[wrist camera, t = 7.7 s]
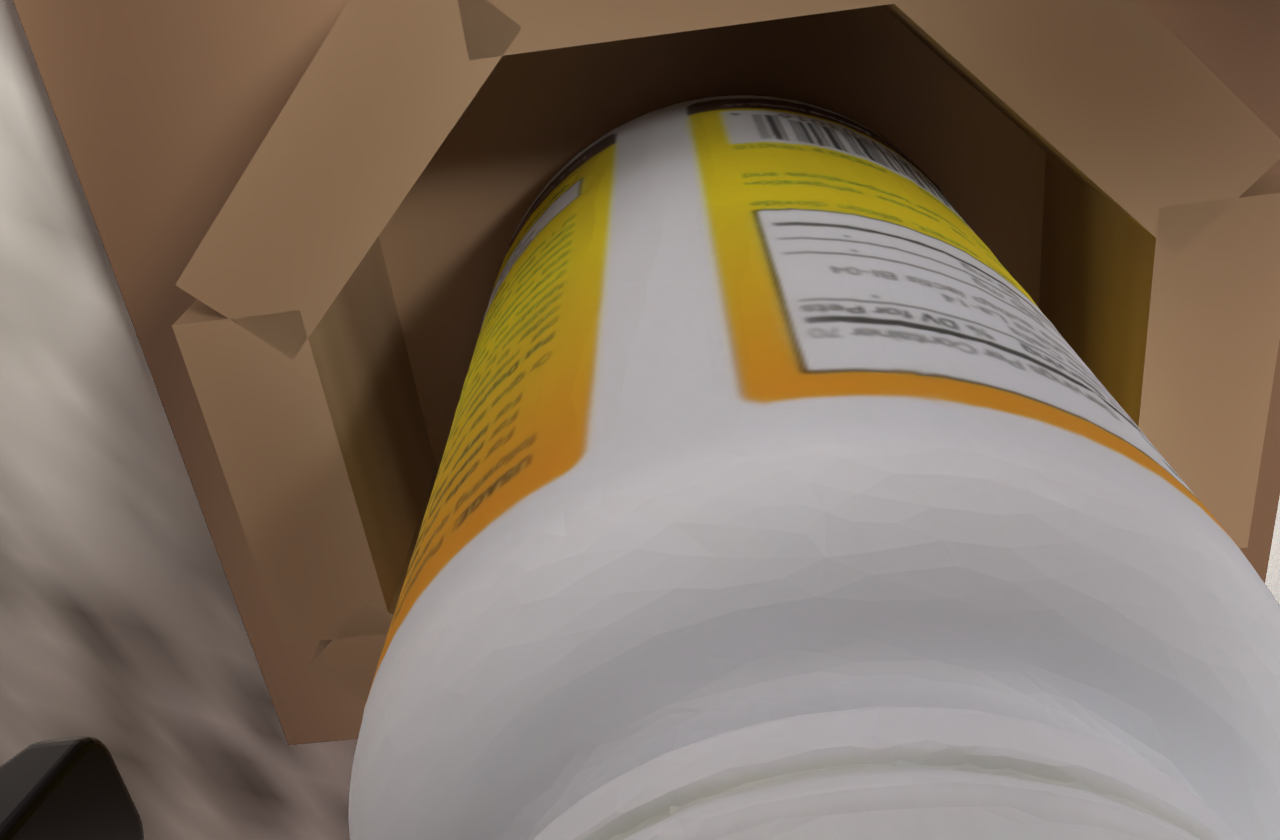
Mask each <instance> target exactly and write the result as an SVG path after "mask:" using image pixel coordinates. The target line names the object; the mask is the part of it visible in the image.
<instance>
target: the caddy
mask: <svg viewBox="0 0 1280 840" xmlns="http://www.w3.org/2000/svg"><path fill="white" fill-rule="evenodd" d="M13 1H14V4H15V7H16V10H17V12H18V15H19V18H20V20H21V23H22V26H23V29H24V31H25V34H26V37H27V39H28V42H29V45H30V47H31V50H32V53H33V56H34V58H35V61H36V64H37V66H38V69H39V72H40V74H41V77H42V80H43V83H44V85H45V88H46V91H47V93H48V96H49V99H50V102H51V104H52V107H53V110H54V112H55V115H56V118H57V120H58V123H59V126H60V129H61V131H62V134H63V137H64V139H65V142H66V145H67V147H68V150H69V153H70V156H71V158H72V161H73V164H74V166H75V169H76V172H77V175H78V177H79V180H80V183H81V185H82V188H83V191H84V193H85V196H86V199H87V202H88V204H89V207H90V210H91V212H92V215H93V218H94V220H95V223H96V226H97V229H98V231H99V234H100V237H101V239H102V242H103V245H104V248H105V250H106V253H107V256H108V258H109V261H110V264H111V266H112V269H113V272H114V275H115V277H116V280H117V283H118V285H119V288H120V291H121V294H122V296H123V299H124V302H125V304H126V307H127V310H128V312H129V315H130V318H131V321H132V323H133V326H134V329H135V331H136V334H137V337H138V339H139V342H140V345H141V348H142V350H143V353H144V356H145V358H146V361H147V364H148V367H149V369H150V372H151V375H152V377H153V380H154V383H155V385H156V388H157V391H158V394H159V396H160V399H161V402H162V404H163V407H164V410H165V412H166V415H167V418H168V421H169V423H170V426H171V429H172V431H173V434H174V437H175V440H176V442H177V445H178V448H179V450H180V453H181V456H182V458H183V461H184V464H185V467H186V469H187V472H188V475H189V477H190V480H191V483H192V485H193V488H194V491H195V494H196V496H197V499H198V502H199V504H200V507H201V510H202V513H203V515H204V518H205V521H206V523H207V526H208V529H209V531H210V534H211V537H212V540H213V542H214V545H215V548H216V550H217V553H218V556H219V558H220V561H221V564H222V567H223V569H224V572H225V575H226V577H227V580H228V583H229V586H230V588H231V591H232V594H233V596H234V599H235V602H236V604H237V607H238V610H239V613H240V615H241V618H242V621H243V623H244V626H245V629H246V631H247V634H248V637H249V640H250V642H251V645H252V648H253V650H254V653H255V656H256V659H257V661H258V664H259V667H260V669H261V672H262V675H263V677H264V680H265V683H266V686H267V688H268V691H269V694H270V696H271V699H272V702H273V705H274V707H275V710H276V713H277V715H278V718H279V721H280V723H281V726H282V729H283V732H284V734H285V737H286V740H287V742H288V745H296V744H307V743H317V742H328V741H339V740H349V739H358V737H359V732H360V728H361V724H362V720H363V713H364V708H365V705H366V702H367V699H368V696H369V692H370V689H371V685H372V682H373V679H374V675H375V672H376V669H377V665H378V662H379V659H380V656H381V652H382V649H383V646H384V643H385V640H386V637H387V634H388V631H389V628H390V624H391V621H392V618H393V615H394V612H395V609H396V606H397V603H398V600H399V596H400V593H401V590H402V587H403V584H404V581H405V577H406V574H407V571H408V567H409V564H410V561H411V557H412V554H413V551H414V548H415V545H416V542H417V539H418V536H419V532H420V529H421V525H422V522H423V518H424V515H425V512H426V509H427V506H428V503H429V500H430V497H431V493H432V490H433V487H434V483H435V480H436V477H437V473H438V470H439V467H440V463H441V460H442V457H443V454H444V450H445V447H446V444H447V440H448V437H449V434H450V431H451V427H452V423H453V419H454V416H455V412H456V409H457V406H458V403H459V400H460V396H461V392H462V389H463V385H464V382H465V378H466V376H467V373H468V370H469V367H470V363H471V360H472V357H473V354H474V351H475V347H476V343H477V340H478V337H479V334H480V330H481V326H482V323H483V319H484V315H485V313H486V310H487V308H488V304H489V301H490V297H491V294H492V291H493V287H494V284H495V281H496V279H497V275H498V272H499V269H500V266H501V263H502V260H503V257H504V254H505V252H506V250H507V247H508V245H509V243H510V241H511V239H512V237H513V235H514V232H515V231H516V229H517V227H518V226H519V224H520V222H521V221H522V219H523V217H524V216H525V214H526V212H527V211H528V209H529V208H530V206H531V205H532V204H533V202H534V201H535V199H536V198H537V196H538V195H539V194H540V192H541V191H542V190H543V189H544V187H545V186H546V185H547V184H548V182H549V181H550V180H551V179H552V178H553V177H554V176H555V175H556V174H557V173H558V172H559V171H560V170H561V169H562V168H563V167H564V166H565V165H566V164H567V163H568V162H569V161H571V160H572V159H573V158H574V157H575V156H576V155H577V154H578V153H580V152H581V151H582V150H584V149H585V148H586V147H588V146H589V145H591V144H592V143H593V142H595V141H596V140H597V139H599V138H600V137H602V136H604V135H605V134H607V133H608V132H610V131H612V130H613V129H615V128H617V127H619V126H621V125H623V124H625V123H627V122H629V121H631V120H633V119H636V118H638V117H640V116H642V115H645V114H647V113H649V112H652V111H654V110H658V109H661V108H664V107H667V106H670V105H674V104H677V103H681V102H685V101H691V100H696V99H702V98H708V97H719V96H732V95H754V96H769V97H777V98H783V99H790V100H796V101H800V102H804V103H808V104H812V105H815V106H818V107H821V108H824V109H827V110H830V111H833V112H835V113H838V114H840V115H843V116H845V117H847V118H849V119H851V120H853V121H855V122H857V123H859V124H861V125H863V126H865V127H867V128H869V129H870V130H872V131H873V132H875V133H876V134H878V135H879V136H881V137H882V138H884V139H885V140H887V141H888V142H889V143H891V144H892V145H893V146H895V147H896V148H897V149H898V150H899V151H901V152H902V153H903V154H904V155H906V156H907V157H908V158H909V159H910V160H911V161H912V162H913V163H914V164H915V165H916V166H917V167H919V168H920V169H921V170H922V171H923V172H924V173H925V174H926V175H927V176H928V177H929V178H930V179H931V180H932V181H933V182H934V183H935V184H937V185H938V186H939V188H940V190H941V191H942V193H943V195H944V196H945V198H946V199H947V200H948V201H949V202H950V204H951V205H952V206H953V207H954V209H955V210H956V211H957V212H958V213H959V215H960V216H961V217H962V218H963V220H964V221H965V222H966V223H967V224H968V226H969V227H970V228H971V229H972V230H973V231H974V233H975V234H976V235H977V236H978V237H979V238H980V239H981V240H982V241H983V243H984V244H985V245H986V246H987V247H988V248H989V249H990V250H991V252H992V253H993V254H994V255H995V257H996V258H997V259H998V261H999V262H1000V263H1001V264H1002V265H1003V267H1004V268H1005V269H1006V270H1007V271H1008V272H1009V274H1010V275H1011V276H1012V277H1013V278H1014V279H1015V280H1016V281H1017V282H1018V283H1019V284H1020V286H1021V287H1022V288H1023V289H1024V290H1025V291H1026V292H1027V293H1028V295H1029V296H1030V297H1031V298H1032V300H1033V301H1034V302H1035V304H1036V305H1037V306H1038V308H1039V309H1040V310H1041V311H1042V313H1043V314H1044V315H1045V316H1046V317H1047V318H1048V319H1049V320H1050V322H1051V323H1052V324H1053V325H1054V326H1055V328H1056V329H1057V331H1058V332H1059V333H1060V334H1061V336H1062V337H1063V338H1064V339H1065V340H1066V342H1067V343H1068V344H1069V345H1070V346H1071V348H1072V349H1073V350H1074V351H1075V352H1076V354H1077V355H1078V356H1079V357H1080V358H1081V360H1082V361H1083V362H1084V363H1085V364H1086V366H1087V367H1088V368H1089V369H1090V370H1091V372H1092V373H1093V374H1094V375H1095V376H1096V378H1097V379H1098V380H1099V381H1100V382H1101V384H1102V385H1103V386H1104V387H1105V388H1106V389H1107V391H1108V392H1109V393H1110V394H1111V395H1112V397H1113V398H1114V399H1115V400H1116V401H1117V402H1118V404H1119V405H1120V406H1121V407H1122V408H1123V410H1124V411H1125V412H1126V413H1127V414H1128V415H1129V417H1130V418H1131V419H1132V420H1133V421H1134V422H1135V424H1136V425H1137V426H1138V427H1139V428H1140V430H1141V431H1142V432H1143V433H1144V434H1145V435H1146V437H1147V438H1148V439H1149V440H1150V442H1151V443H1152V444H1153V446H1154V447H1155V448H1156V449H1157V451H1158V452H1159V453H1160V454H1161V455H1162V456H1163V457H1164V459H1165V460H1166V461H1167V462H1168V463H1169V464H1170V466H1171V467H1172V468H1173V469H1174V470H1175V472H1176V473H1177V474H1178V475H1179V476H1180V478H1181V479H1182V480H1183V481H1184V483H1185V484H1186V485H1187V486H1188V487H1189V489H1190V490H1191V491H1192V492H1193V493H1194V494H1195V496H1196V497H1197V498H1198V499H1199V500H1200V501H1201V502H1202V504H1203V505H1204V506H1205V507H1206V508H1207V509H1208V511H1209V512H1210V513H1211V514H1212V515H1213V517H1214V518H1215V519H1216V520H1217V521H1218V522H1219V524H1220V525H1221V526H1222V527H1223V528H1224V530H1225V531H1226V532H1227V533H1228V534H1229V536H1230V537H1231V538H1232V540H1233V541H1234V542H1235V544H1236V545H1237V546H1238V547H1239V549H1240V550H1241V551H1242V553H1243V554H1244V555H1245V557H1246V558H1247V559H1248V561H1249V562H1250V563H1251V565H1252V566H1253V568H1254V569H1255V570H1256V572H1257V573H1258V575H1259V576H1260V578H1261V579H1262V580H1263V582H1264V583H1265V579H1266V573H1267V567H1268V561H1269V555H1270V549H1271V543H1272V537H1273V531H1274V525H1275V519H1276V513H1277V507H1278V501H1279V495H1280V0H13Z"/></svg>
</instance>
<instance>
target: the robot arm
mask: <svg viewBox="0 0 1280 840" xmlns="http://www.w3.org/2000/svg"><path fill="white" fill-rule="evenodd" d="M0 840H144V834H143V827H142V822H141V819H140V816H139V814H138V811H137V809H136V807H135V805H134V803H133V801H132V799H131V797H130V794H129V792H128V790H127V788H126V786H125V784H124V782H123V780H122V777H121V775H120V773H119V771H118V769H117V767H116V765H115V763H114V760H113V758H112V756H111V754H110V752H109V750H108V749H107V747H106V746H105V745H104V744H103V743H102V742H101V741H99V740H98V739H96V738H91V737H77V738H66V739H56V740H46V741H42V742H37V743H35V744H32V745H30V746H29V747H27V748H26V749H24V750H23V751H21V752H20V753H19V754H17V755H16V756H14V757H13V758H12V759H10V760H9V761H8V762H6V763H5V764H4V765H2V766H1V767H0Z"/></svg>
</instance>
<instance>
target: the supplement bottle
mask: <svg viewBox="0 0 1280 840" xmlns="http://www.w3.org/2000/svg"><path fill="white" fill-rule="evenodd" d="M348 824H349V834H350V840H1280V606H1279V604H1278V602H1277V601H1276V599H1275V598H1274V596H1273V595H1272V593H1271V592H1270V590H1269V589H1268V588H1267V586H1266V585H1265V583H1264V582H1263V580H1262V579H1261V578H1260V576H1259V575H1258V573H1257V572H1256V570H1255V569H1254V568H1253V566H1252V565H1251V563H1250V562H1249V561H1248V559H1247V558H1246V557H1245V555H1244V554H1243V553H1242V551H1241V550H1240V549H1239V547H1238V546H1237V545H1236V544H1235V542H1234V541H1233V540H1232V538H1231V537H1230V536H1229V534H1228V533H1227V532H1226V531H1225V530H1224V528H1223V527H1222V526H1221V525H1220V524H1219V522H1218V521H1217V520H1216V519H1215V518H1214V517H1213V515H1212V514H1211V513H1210V512H1209V511H1208V509H1207V508H1206V507H1205V506H1204V505H1203V504H1202V502H1201V501H1200V500H1199V499H1198V498H1197V497H1196V496H1195V494H1194V493H1193V492H1192V491H1191V490H1190V489H1189V487H1188V486H1187V485H1186V484H1185V483H1184V481H1183V480H1182V479H1181V478H1180V476H1179V475H1178V474H1177V473H1176V472H1175V470H1174V469H1173V468H1172V467H1171V466H1170V464H1169V463H1168V462H1167V461H1166V460H1165V459H1164V457H1163V456H1162V455H1161V454H1160V453H1159V452H1158V451H1157V449H1156V448H1155V447H1154V446H1153V444H1152V443H1151V442H1150V440H1149V439H1148V438H1147V437H1146V435H1145V434H1144V433H1143V432H1142V431H1141V430H1140V428H1139V427H1138V426H1137V425H1136V424H1135V422H1134V421H1133V420H1132V419H1131V418H1130V417H1129V415H1128V414H1127V413H1126V412H1125V411H1124V410H1123V408H1122V407H1121V406H1120V405H1119V404H1118V402H1117V401H1116V400H1115V399H1114V398H1113V397H1112V395H1111V394H1110V393H1109V392H1108V391H1107V389H1106V388H1105V387H1104V386H1103V385H1102V384H1101V382H1100V381H1099V380H1098V379H1097V378H1096V376H1095V375H1094V374H1093V373H1092V372H1091V370H1090V369H1089V368H1088V367H1087V366H1086V364H1085V363H1084V362H1083V361H1082V360H1081V358H1080V357H1079V356H1078V355H1077V354H1076V352H1075V351H1074V350H1073V349H1072V348H1071V346H1070V345H1069V344H1068V343H1067V342H1066V340H1065V339H1064V338H1063V337H1062V336H1061V334H1060V333H1059V332H1058V331H1057V329H1056V328H1055V326H1054V325H1053V324H1052V323H1051V322H1050V320H1049V319H1048V318H1047V317H1046V316H1045V315H1044V314H1043V313H1042V311H1041V310H1040V309H1039V308H1038V306H1037V305H1036V304H1035V302H1034V301H1033V300H1032V298H1031V297H1030V296H1029V295H1028V293H1027V292H1026V291H1025V290H1024V289H1023V288H1022V287H1021V286H1020V284H1019V283H1018V282H1017V281H1016V280H1015V279H1014V278H1013V277H1012V276H1011V275H1010V274H1009V272H1008V271H1007V270H1006V269H1005V268H1004V267H1003V265H1002V264H1001V263H1000V262H999V261H998V259H997V258H996V257H995V255H994V254H993V253H992V252H991V250H990V249H989V248H988V247H987V246H986V245H985V244H984V243H983V241H982V240H981V239H980V238H979V237H978V236H977V235H976V234H975V233H974V231H973V230H972V229H971V228H970V227H969V226H968V224H967V223H966V222H965V221H964V220H963V218H962V217H961V216H960V215H959V213H958V212H957V211H956V210H955V209H954V207H953V206H952V205H951V204H950V202H949V201H948V200H947V199H946V198H945V196H944V195H943V193H942V191H941V190H940V188H939V186H938V185H937V184H935V183H934V182H933V181H932V180H931V179H930V178H929V177H928V176H927V175H926V174H925V173H924V172H923V171H922V170H921V169H920V168H919V167H917V166H916V165H915V164H914V163H913V162H912V161H911V160H910V159H909V158H908V157H907V156H906V155H904V154H903V153H902V152H901V151H899V150H898V149H897V148H896V147H895V146H893V145H892V144H891V143H889V142H888V141H887V140H885V139H884V138H882V137H881V136H879V135H878V134H876V133H875V132H873V131H872V130H870V129H869V128H867V127H865V126H863V125H861V124H859V123H857V122H855V121H853V120H851V119H849V118H847V117H845V116H843V115H840V114H838V113H835V112H833V111H830V110H827V109H824V108H821V107H818V106H815V105H812V104H808V103H804V102H800V101H796V100H790V99H783V98H777V97H769V96H754V95H732V96H719V97H708V98H702V99H696V100H691V101H685V102H681V103H677V104H674V105H670V106H667V107H664V108H661V109H658V110H654V111H652V112H649V113H647V114H645V115H642V116H640V117H638V118H636V119H633V120H631V121H629V122H627V123H625V124H623V125H621V126H619V127H617V128H615V129H613V130H612V131H610V132H608V133H607V134H605V135H604V136H602V137H600V138H599V139H597V140H596V141H595V142H593V143H592V144H591V145H589V146H588V147H586V148H585V149H584V150H582V151H581V152H580V153H578V154H577V155H576V156H575V157H574V158H573V159H572V160H571V161H569V162H568V163H567V164H566V165H565V166H564V167H563V168H562V169H561V170H560V171H559V172H558V173H557V174H556V175H555V176H554V177H553V178H552V179H551V180H550V181H549V182H548V184H547V185H546V186H545V187H544V189H543V190H542V191H541V192H540V194H539V195H538V196H537V198H536V199H535V201H534V202H533V204H532V205H531V206H530V208H529V209H528V211H527V212H526V214H525V216H524V217H523V219H522V221H521V222H520V224H519V226H518V227H517V229H516V231H515V232H514V235H513V237H512V239H511V241H510V243H509V245H508V247H507V250H506V252H505V254H504V257H503V260H502V263H501V266H500V269H499V272H498V275H497V279H496V281H495V284H494V287H493V291H492V294H491V297H490V301H489V304H488V308H487V310H486V313H485V315H484V319H483V323H482V326H481V330H480V334H479V337H478V340H477V343H476V347H475V351H474V354H473V357H472V360H471V363H470V367H469V370H468V373H467V376H466V378H465V382H464V385H463V389H462V392H461V396H460V400H459V403H458V406H457V409H456V412H455V416H454V419H453V423H452V427H451V431H450V434H449V437H448V440H447V444H446V447H445V450H444V454H443V457H442V460H441V463H440V467H439V470H438V473H437V477H436V480H435V483H434V487H433V490H432V493H431V497H430V500H429V503H428V506H427V509H426V512H425V515H424V518H423V522H422V525H421V529H420V532H419V536H418V539H417V542H416V545H415V548H414V551H413V554H412V557H411V561H410V564H409V567H408V571H407V574H406V577H405V581H404V584H403V587H402V590H401V593H400V596H399V600H398V603H397V606H396V609H395V612H394V615H393V618H392V621H391V624H390V628H389V631H388V634H387V637H386V640H385V643H384V646H383V649H382V652H381V656H380V659H379V662H378V665H377V669H376V672H375V675H374V679H373V682H372V685H371V689H370V692H369V696H368V699H367V702H366V705H365V708H364V713H363V720H362V724H361V728H360V732H359V737H358V741H357V746H356V750H355V755H354V759H353V766H352V774H351V781H350V789H349V815H348Z"/></svg>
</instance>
